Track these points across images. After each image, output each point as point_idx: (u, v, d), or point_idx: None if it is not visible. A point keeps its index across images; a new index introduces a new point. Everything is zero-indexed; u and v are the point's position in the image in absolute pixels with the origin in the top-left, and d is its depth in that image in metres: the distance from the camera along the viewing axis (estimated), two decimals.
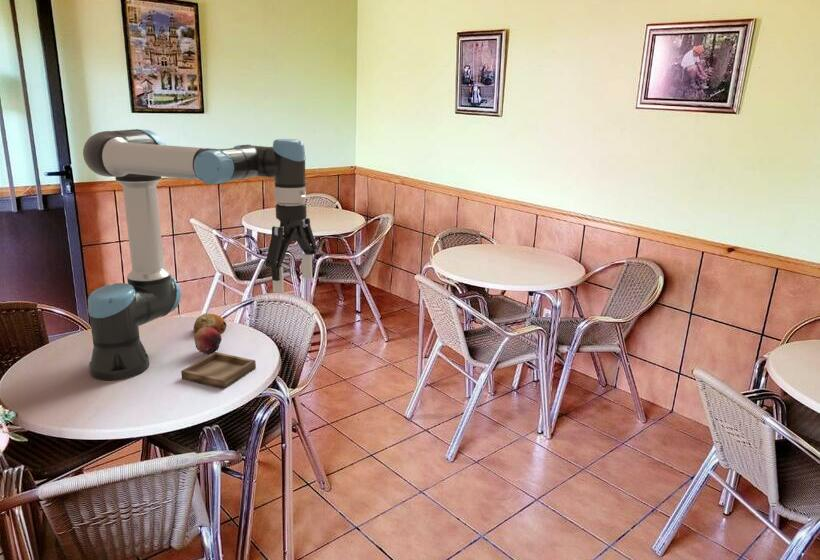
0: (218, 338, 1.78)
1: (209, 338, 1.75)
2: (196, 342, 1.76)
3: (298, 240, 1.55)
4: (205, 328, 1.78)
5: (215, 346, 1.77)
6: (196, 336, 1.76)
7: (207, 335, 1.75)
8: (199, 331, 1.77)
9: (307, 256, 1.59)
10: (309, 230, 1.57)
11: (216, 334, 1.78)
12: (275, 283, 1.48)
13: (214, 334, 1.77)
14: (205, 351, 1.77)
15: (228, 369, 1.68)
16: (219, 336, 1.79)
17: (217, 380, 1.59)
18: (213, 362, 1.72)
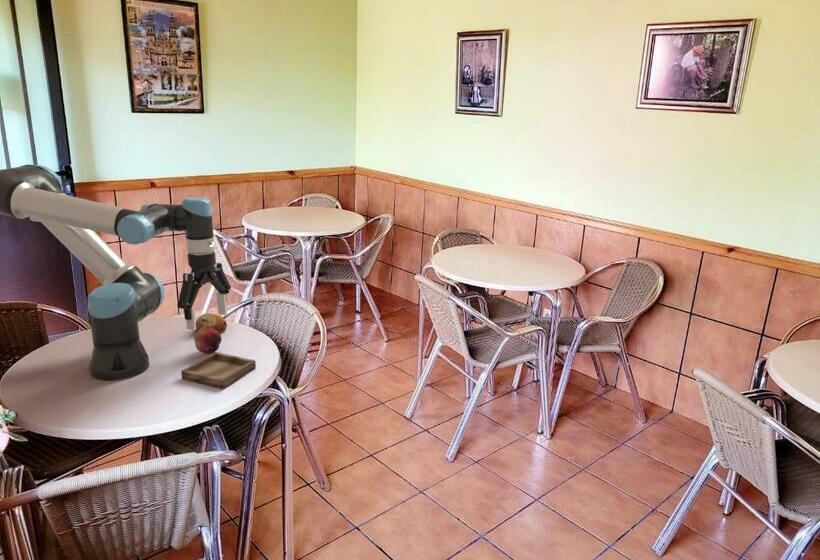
0: (218, 338, 1.78)
1: (208, 338, 1.75)
2: (196, 342, 1.76)
3: (211, 282, 1.78)
4: (205, 328, 1.78)
5: (215, 346, 1.77)
6: (196, 336, 1.76)
7: (207, 335, 1.76)
8: (199, 331, 1.77)
9: (221, 295, 1.81)
10: (221, 273, 1.79)
11: (216, 334, 1.78)
12: (188, 321, 1.70)
13: (214, 334, 1.77)
14: (205, 351, 1.77)
15: (228, 369, 1.68)
16: (219, 336, 1.79)
17: (217, 380, 1.59)
18: (213, 362, 1.72)
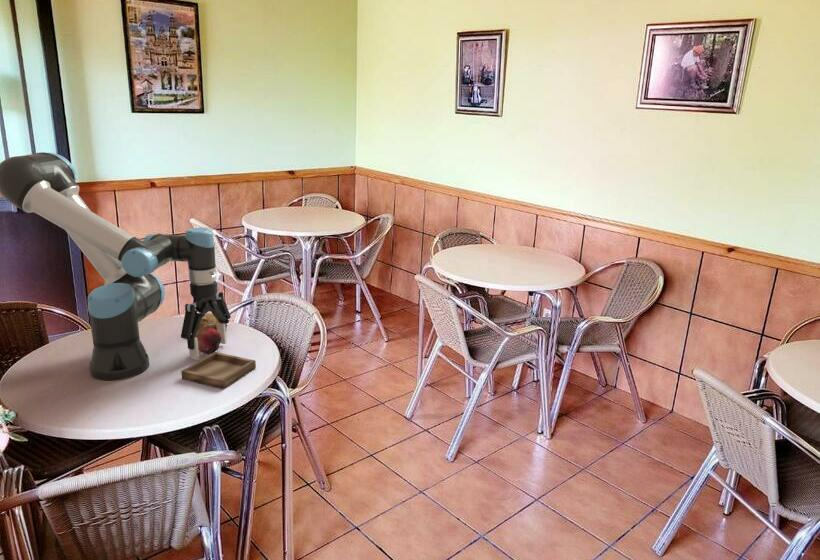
0: (218, 338, 1.78)
1: (208, 338, 1.75)
2: None
3: (212, 311, 1.80)
4: (205, 328, 1.78)
5: (215, 346, 1.77)
6: (196, 336, 1.76)
7: (207, 335, 1.76)
8: (199, 331, 1.77)
9: (221, 325, 1.83)
10: (222, 302, 1.81)
11: (216, 334, 1.78)
12: (191, 351, 1.74)
13: (214, 334, 1.77)
14: (205, 351, 1.77)
15: (228, 369, 1.68)
16: (219, 336, 1.79)
17: (217, 380, 1.59)
18: (213, 362, 1.72)
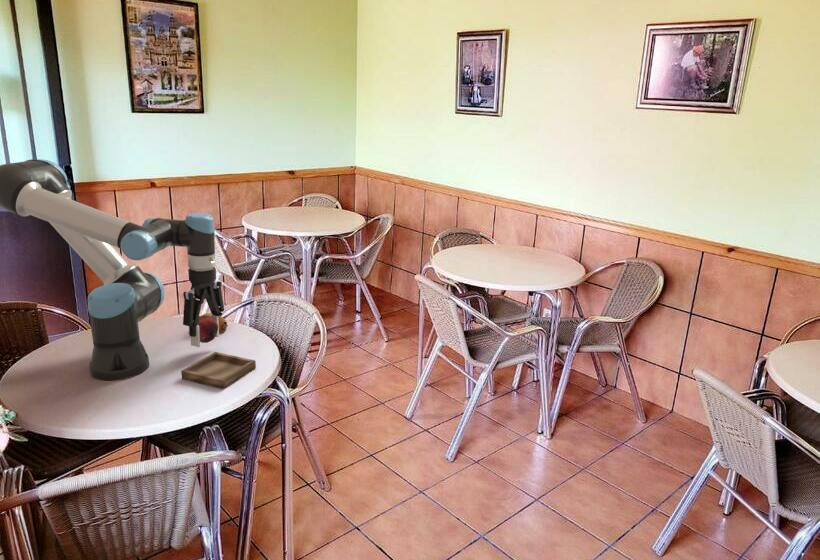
0: (215, 327, 1.77)
1: (205, 326, 1.75)
2: None
3: (208, 300, 1.78)
4: (202, 316, 1.77)
5: (212, 335, 1.76)
6: None
7: (204, 323, 1.75)
8: None
9: (214, 317, 1.81)
10: (219, 292, 1.80)
11: (213, 323, 1.77)
12: (192, 338, 1.75)
13: (211, 323, 1.76)
14: (201, 340, 1.76)
15: (228, 369, 1.68)
16: (216, 325, 1.78)
17: (217, 380, 1.59)
18: (213, 362, 1.72)
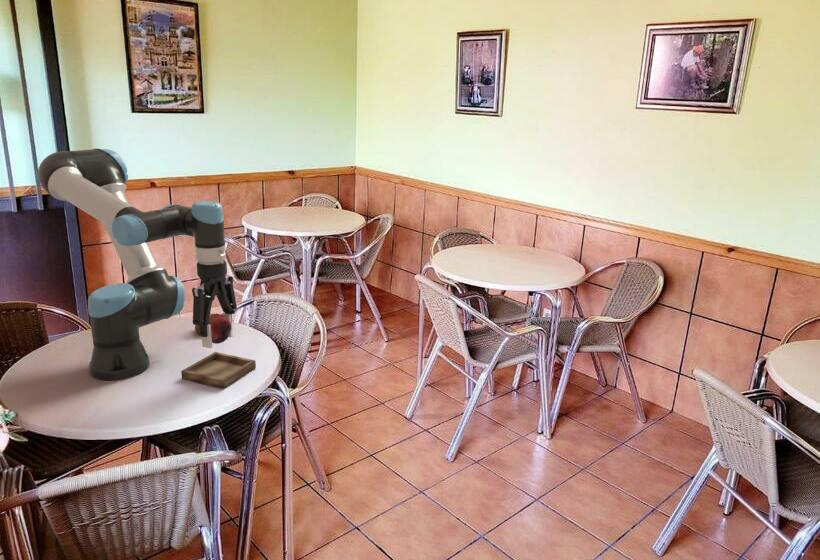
0: (228, 326, 1.62)
1: (218, 325, 1.60)
2: None
3: (219, 297, 1.63)
4: (214, 315, 1.62)
5: (225, 335, 1.61)
6: None
7: (216, 322, 1.60)
8: None
9: (226, 316, 1.66)
10: (231, 288, 1.65)
11: (226, 321, 1.62)
12: (203, 339, 1.60)
13: (223, 321, 1.61)
14: (214, 340, 1.61)
15: (228, 369, 1.68)
16: (229, 324, 1.63)
17: (217, 380, 1.59)
18: (213, 362, 1.72)
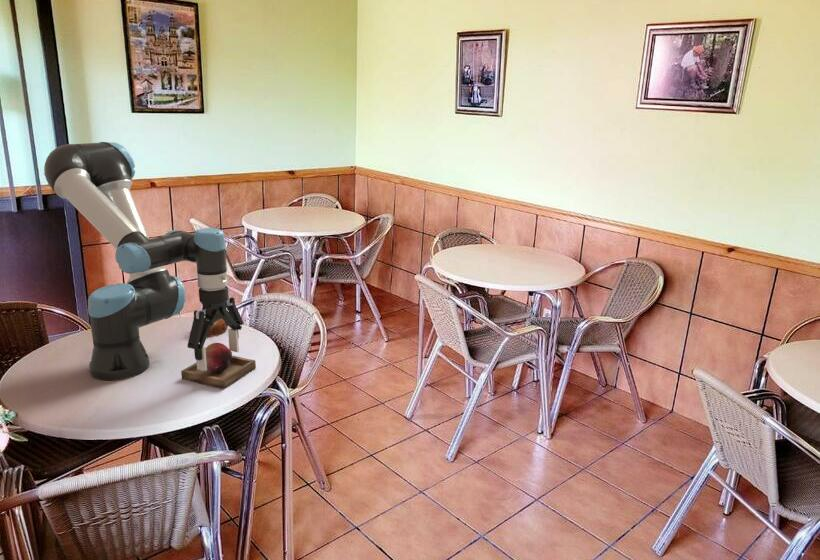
0: (228, 355, 1.64)
1: (218, 355, 1.62)
2: None
3: (223, 318, 1.66)
4: (214, 344, 1.64)
5: (225, 364, 1.63)
6: None
7: (217, 352, 1.62)
8: (208, 348, 1.63)
9: (233, 331, 1.70)
10: (234, 308, 1.67)
11: (226, 351, 1.64)
12: (198, 361, 1.59)
13: (224, 351, 1.63)
14: (214, 369, 1.63)
15: (228, 369, 1.68)
16: (229, 353, 1.65)
17: (217, 380, 1.59)
18: None
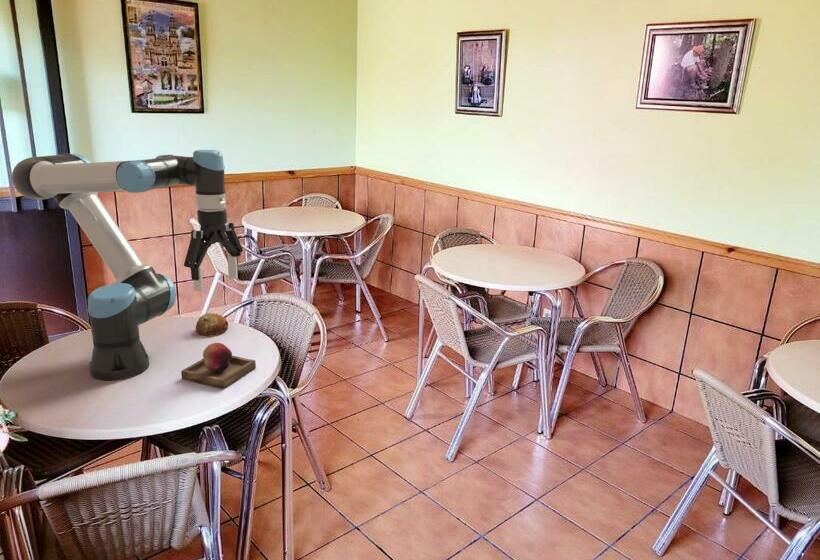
0: (228, 355, 1.64)
1: (218, 355, 1.62)
2: (205, 360, 1.62)
3: (222, 243, 1.68)
4: (214, 344, 1.64)
5: (226, 364, 1.63)
6: (204, 353, 1.62)
7: (217, 352, 1.62)
8: (208, 348, 1.63)
9: (232, 258, 1.71)
10: (233, 234, 1.69)
11: (226, 351, 1.64)
12: (195, 282, 1.61)
13: (224, 351, 1.63)
14: (214, 369, 1.63)
15: (228, 369, 1.68)
16: (229, 353, 1.65)
17: (217, 380, 1.59)
18: None
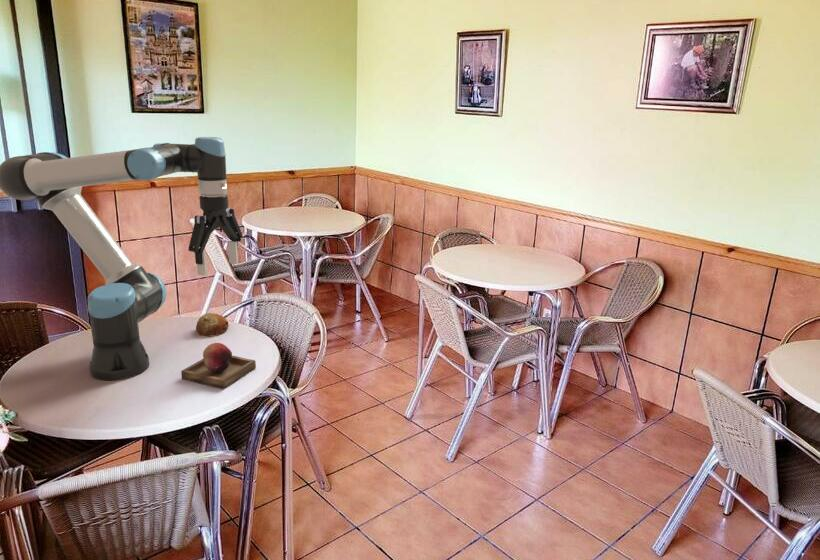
0: (228, 355, 1.64)
1: (218, 355, 1.62)
2: (205, 360, 1.62)
3: (223, 228, 1.72)
4: (214, 344, 1.64)
5: (225, 364, 1.63)
6: (204, 353, 1.62)
7: (217, 352, 1.62)
8: (208, 348, 1.63)
9: (233, 243, 1.75)
10: (233, 219, 1.73)
11: (226, 351, 1.64)
12: (199, 266, 1.65)
13: (224, 351, 1.63)
14: (214, 369, 1.63)
15: (228, 369, 1.68)
16: (229, 353, 1.65)
17: (217, 380, 1.59)
18: None
